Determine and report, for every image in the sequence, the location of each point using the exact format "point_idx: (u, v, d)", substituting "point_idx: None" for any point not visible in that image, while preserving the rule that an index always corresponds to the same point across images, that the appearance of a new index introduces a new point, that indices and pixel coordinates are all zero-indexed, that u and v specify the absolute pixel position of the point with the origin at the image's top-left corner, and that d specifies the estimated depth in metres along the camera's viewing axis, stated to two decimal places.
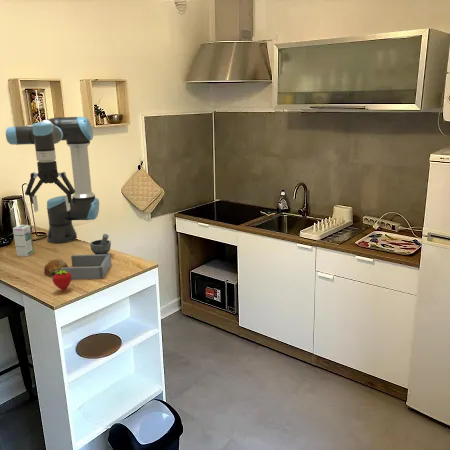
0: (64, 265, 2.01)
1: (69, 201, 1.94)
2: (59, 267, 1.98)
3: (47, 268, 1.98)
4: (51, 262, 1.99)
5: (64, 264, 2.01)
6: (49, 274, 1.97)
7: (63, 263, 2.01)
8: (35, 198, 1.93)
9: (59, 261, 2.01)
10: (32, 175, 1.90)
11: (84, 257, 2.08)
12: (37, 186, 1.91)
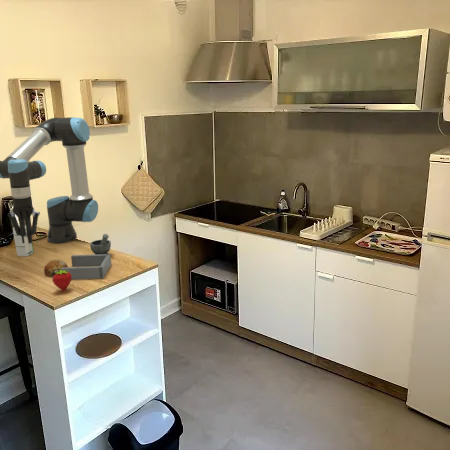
0: (64, 265, 2.00)
1: (29, 241, 1.97)
2: (59, 267, 1.98)
3: (47, 268, 1.98)
4: (51, 262, 1.99)
5: (64, 264, 2.01)
6: (49, 274, 1.97)
7: (63, 263, 2.01)
8: None
9: (59, 261, 2.00)
10: (9, 215, 1.93)
11: (84, 257, 2.08)
12: (21, 224, 1.94)
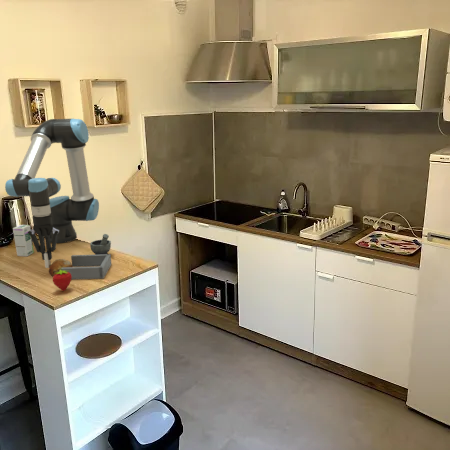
0: (69, 265, 2.00)
1: (49, 258, 1.99)
2: None
3: (52, 268, 1.97)
4: (56, 262, 1.99)
5: (69, 264, 2.00)
6: (54, 274, 1.97)
7: (68, 263, 2.00)
8: None
9: (64, 261, 2.00)
10: (30, 233, 1.95)
11: (84, 257, 2.08)
12: (41, 241, 1.97)
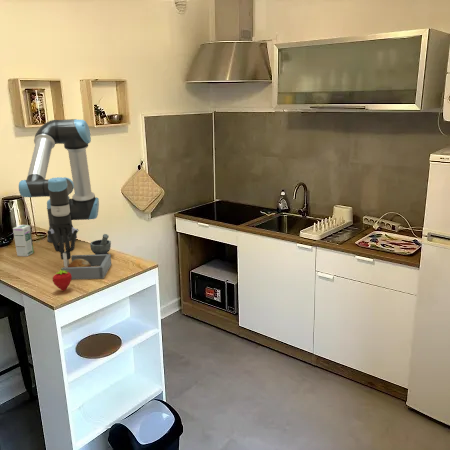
0: (87, 265, 2.00)
1: (68, 258, 2.00)
2: None
3: None
4: (74, 262, 1.99)
5: (87, 264, 2.00)
6: None
7: (86, 263, 2.00)
8: None
9: (82, 261, 2.00)
10: (49, 232, 1.96)
11: (84, 257, 2.08)
12: (60, 241, 1.97)
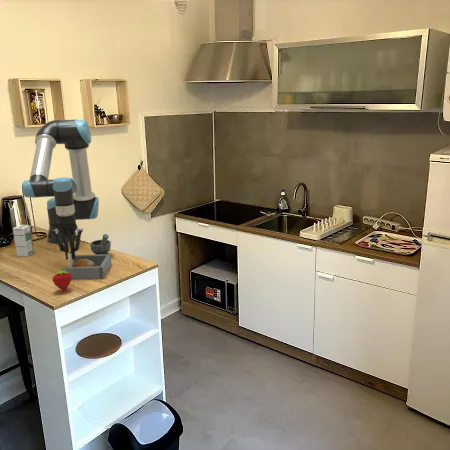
0: (92, 265, 2.00)
1: (73, 258, 2.00)
2: None
3: None
4: (79, 262, 1.99)
5: (92, 264, 2.00)
6: None
7: (91, 263, 2.00)
8: None
9: (87, 261, 2.00)
10: (54, 232, 1.96)
11: (84, 257, 2.08)
12: (65, 241, 1.97)
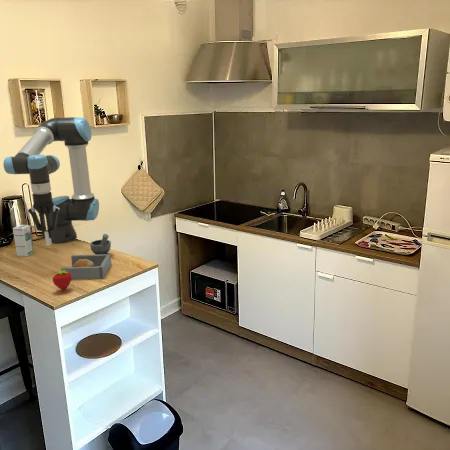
0: (92, 265, 2.00)
1: (50, 236, 1.97)
2: None
3: None
4: (79, 262, 1.99)
5: (92, 264, 2.00)
6: None
7: (91, 263, 2.00)
8: None
9: (87, 261, 2.00)
10: (30, 211, 1.93)
11: (84, 257, 2.08)
12: (41, 219, 1.94)
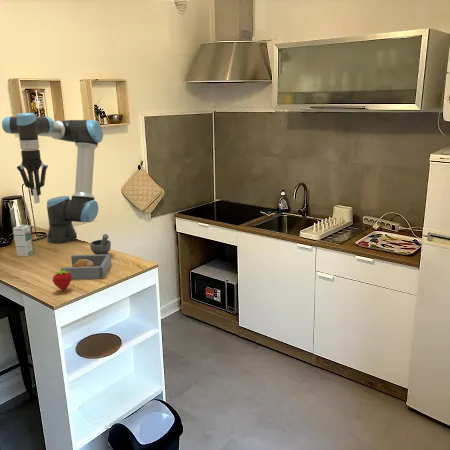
0: (92, 265, 2.00)
1: (38, 194, 2.04)
2: None
3: None
4: (79, 262, 1.99)
5: (92, 264, 2.00)
6: None
7: (91, 263, 2.00)
8: None
9: (87, 261, 2.00)
10: (19, 167, 1.99)
11: (84, 257, 2.08)
12: (29, 176, 2.01)
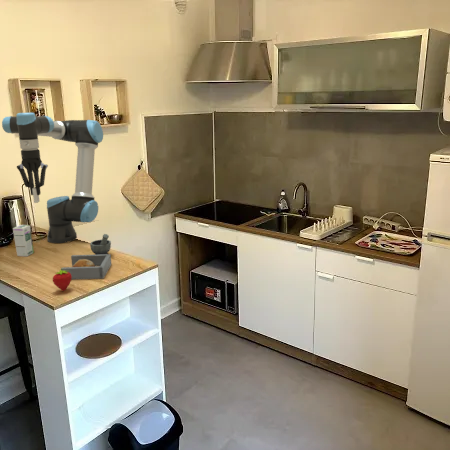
0: (92, 265, 2.00)
1: (38, 193, 2.04)
2: None
3: None
4: (79, 262, 1.98)
5: (92, 264, 2.00)
6: None
7: (91, 263, 2.00)
8: None
9: (87, 261, 2.00)
10: (18, 167, 2.00)
11: (84, 257, 2.08)
12: (29, 176, 2.01)
